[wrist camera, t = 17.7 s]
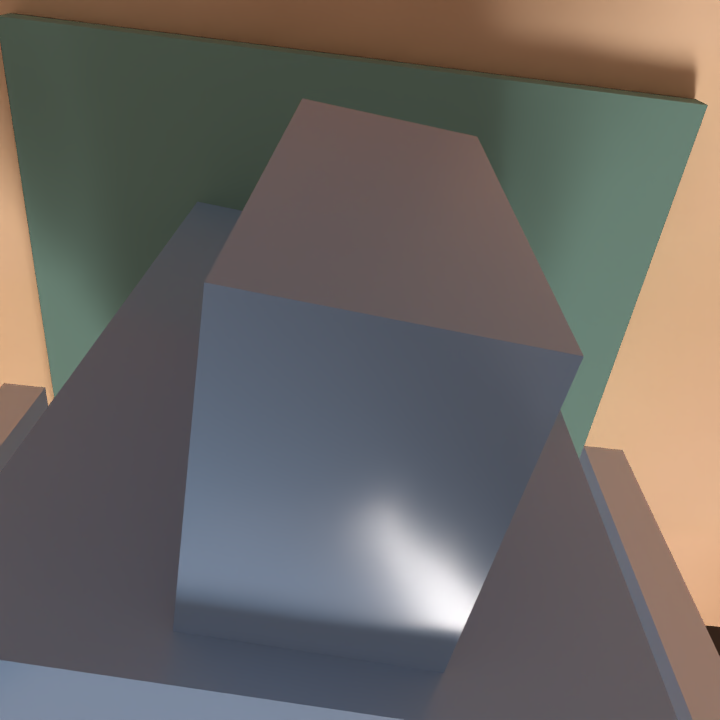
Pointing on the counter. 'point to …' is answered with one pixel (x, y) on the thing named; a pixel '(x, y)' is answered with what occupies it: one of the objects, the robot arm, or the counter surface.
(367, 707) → the blue block
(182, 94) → the plate
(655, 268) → the counter surface
